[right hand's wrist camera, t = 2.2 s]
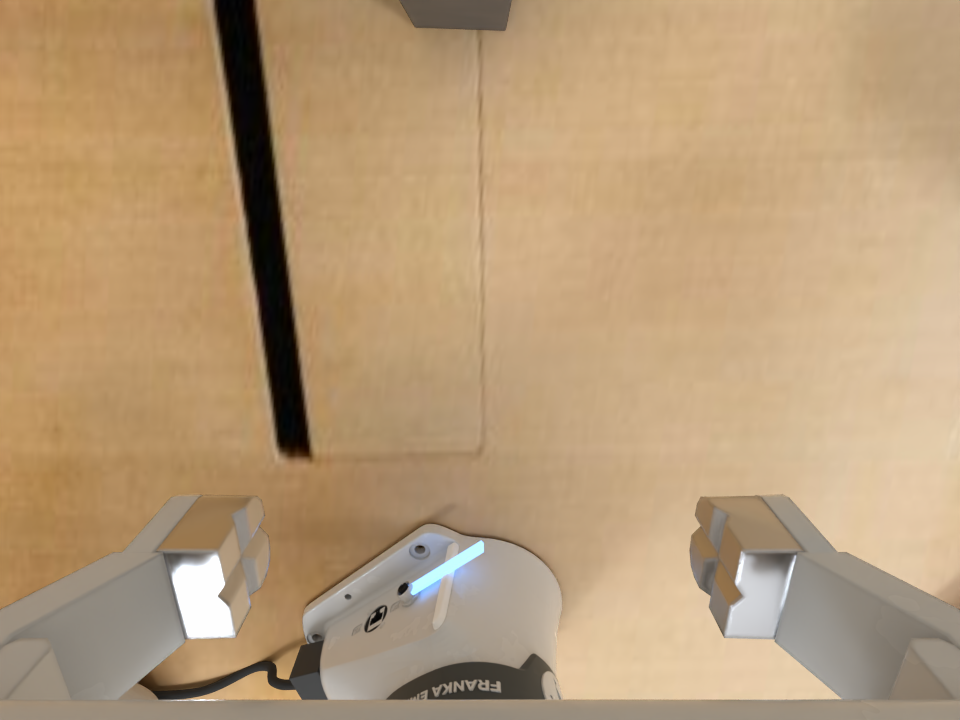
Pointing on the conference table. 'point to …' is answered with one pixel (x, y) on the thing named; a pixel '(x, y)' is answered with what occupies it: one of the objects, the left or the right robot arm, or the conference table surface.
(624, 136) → the conference table surface
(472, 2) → the bar
